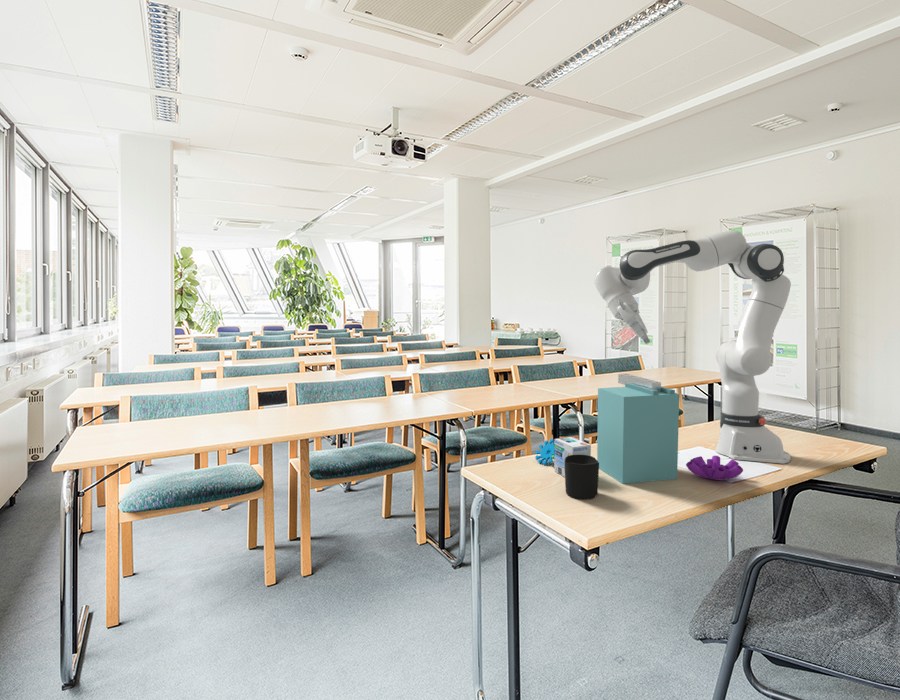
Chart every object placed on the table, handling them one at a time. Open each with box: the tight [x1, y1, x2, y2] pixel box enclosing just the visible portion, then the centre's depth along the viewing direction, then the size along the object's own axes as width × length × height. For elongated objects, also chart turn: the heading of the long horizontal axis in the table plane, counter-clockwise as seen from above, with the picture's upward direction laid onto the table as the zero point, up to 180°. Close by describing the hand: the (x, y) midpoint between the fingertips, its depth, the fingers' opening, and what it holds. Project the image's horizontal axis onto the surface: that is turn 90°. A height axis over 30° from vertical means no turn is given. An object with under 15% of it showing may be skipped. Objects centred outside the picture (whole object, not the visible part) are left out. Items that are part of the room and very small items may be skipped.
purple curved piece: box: [685, 455, 744, 481], centre depth 158 cm, size 11×15×10 cm
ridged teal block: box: [596, 383, 680, 485], centre depth 164 cm, size 16×18×27 cm
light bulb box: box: [553, 436, 592, 478], centre depth 164 cm, size 11×7×11 cm, turn 21°
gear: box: [534, 438, 555, 466], centre depth 177 cm, size 11×6×10 cm
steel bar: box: [617, 373, 662, 392], centre depth 169 cm, size 20×3×3 cm, turn 11°
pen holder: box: [564, 455, 600, 500], centre depth 148 cm, size 9×9×10 cm
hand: (645, 339), depth 176 cm, fingers open, 8 cm apart
